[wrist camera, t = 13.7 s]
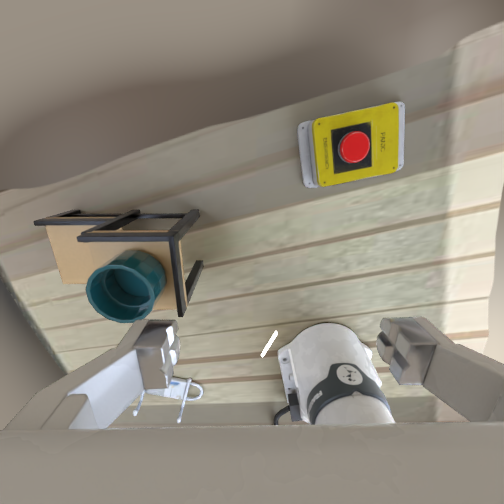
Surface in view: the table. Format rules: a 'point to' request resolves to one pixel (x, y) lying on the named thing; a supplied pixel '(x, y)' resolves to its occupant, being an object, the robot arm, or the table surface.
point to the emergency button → (352, 145)
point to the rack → (122, 248)
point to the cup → (127, 286)
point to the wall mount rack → (173, 393)
